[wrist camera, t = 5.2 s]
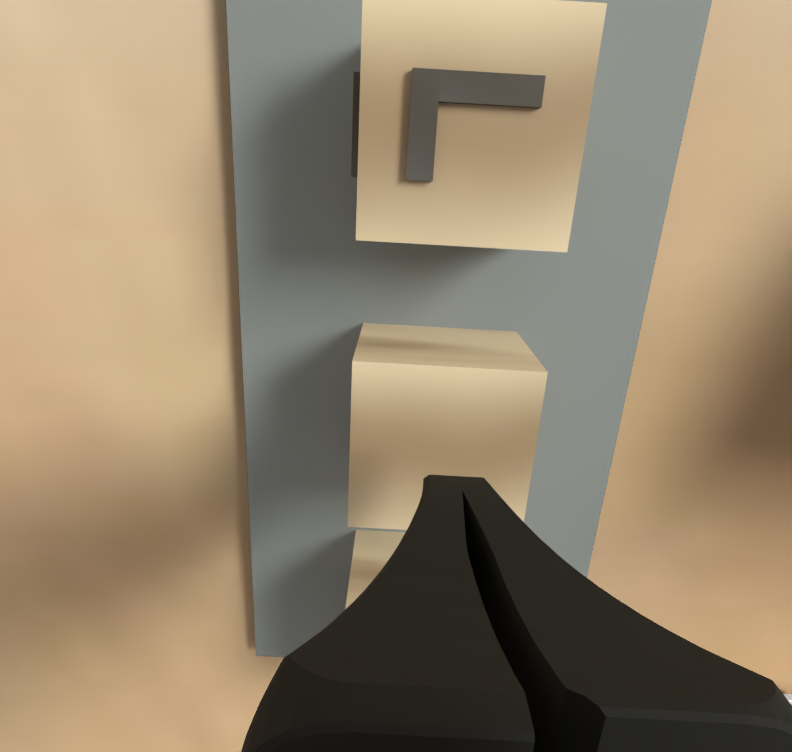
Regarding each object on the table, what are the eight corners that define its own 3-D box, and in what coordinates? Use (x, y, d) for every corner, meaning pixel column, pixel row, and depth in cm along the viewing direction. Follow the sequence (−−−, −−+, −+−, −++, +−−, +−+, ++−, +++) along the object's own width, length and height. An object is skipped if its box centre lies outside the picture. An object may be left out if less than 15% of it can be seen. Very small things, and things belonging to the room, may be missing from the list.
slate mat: (561, 659, 23) (565, 671, 22) (259, 643, 23) (255, 655, 22) (701, 1, 15) (713, -6, 14) (231, -28, 15) (224, -36, 14)
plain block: (497, 466, 19) (521, 536, 15) (358, 459, 19) (347, 526, 15) (516, 331, 17) (547, 372, 14) (363, 322, 17) (351, 361, 14)
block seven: (529, 236, 16) (569, 253, 12) (360, 227, 16) (346, 240, 12) (554, 50, 15) (610, -1, 11) (365, 39, 15) (351, -17, 11)
